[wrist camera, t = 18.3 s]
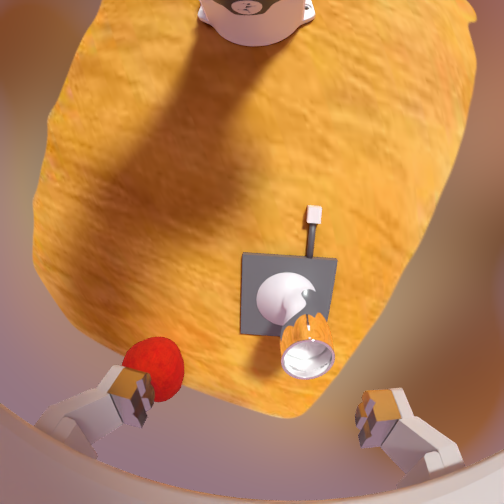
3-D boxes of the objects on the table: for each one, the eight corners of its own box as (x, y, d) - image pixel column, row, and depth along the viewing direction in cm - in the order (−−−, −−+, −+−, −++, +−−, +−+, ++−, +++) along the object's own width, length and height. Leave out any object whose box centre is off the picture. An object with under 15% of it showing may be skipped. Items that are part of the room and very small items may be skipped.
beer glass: (285, 323, 47) (285, 384, 33) (275, 288, 45) (273, 344, 31) (324, 314, 46) (339, 374, 32) (317, 278, 44) (333, 332, 30)
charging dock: (245, 201, 42) (243, 202, 41) (342, 208, 41) (344, 209, 39) (241, 330, 50) (240, 335, 48) (323, 335, 48) (324, 340, 47)
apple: (141, 358, 55) (115, 398, 42) (139, 315, 51) (107, 356, 38) (191, 373, 55) (173, 419, 42) (195, 332, 51) (174, 379, 38)
